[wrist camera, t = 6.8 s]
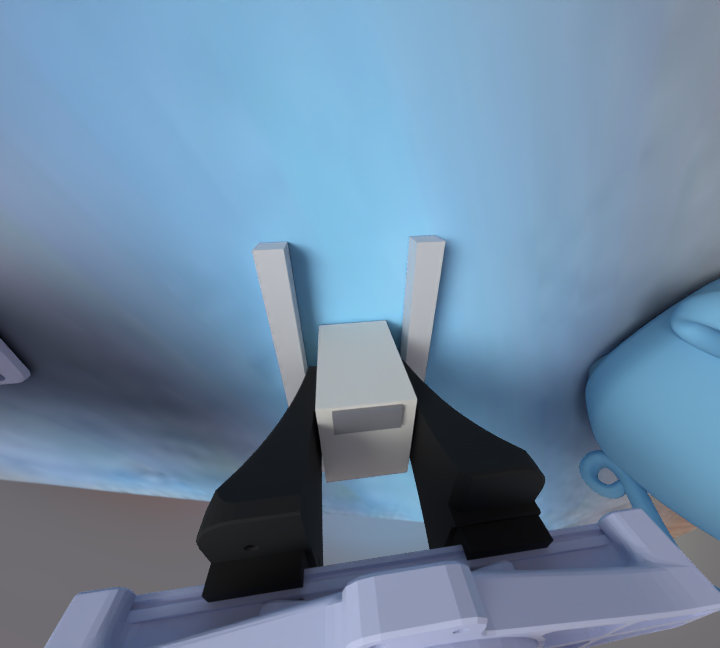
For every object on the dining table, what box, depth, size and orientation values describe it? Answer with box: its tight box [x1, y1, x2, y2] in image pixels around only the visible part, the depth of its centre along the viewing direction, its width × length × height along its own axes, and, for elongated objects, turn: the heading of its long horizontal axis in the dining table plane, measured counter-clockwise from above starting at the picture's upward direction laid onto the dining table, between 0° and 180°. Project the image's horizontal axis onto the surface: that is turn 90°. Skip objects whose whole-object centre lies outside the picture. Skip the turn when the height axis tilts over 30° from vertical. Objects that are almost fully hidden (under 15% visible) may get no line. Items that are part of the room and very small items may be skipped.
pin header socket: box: [252, 235, 445, 472], centre depth 12 cm, size 8×12×4 cm, turn 1°
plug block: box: [315, 320, 417, 482], centre depth 12 cm, size 4×4×6 cm
